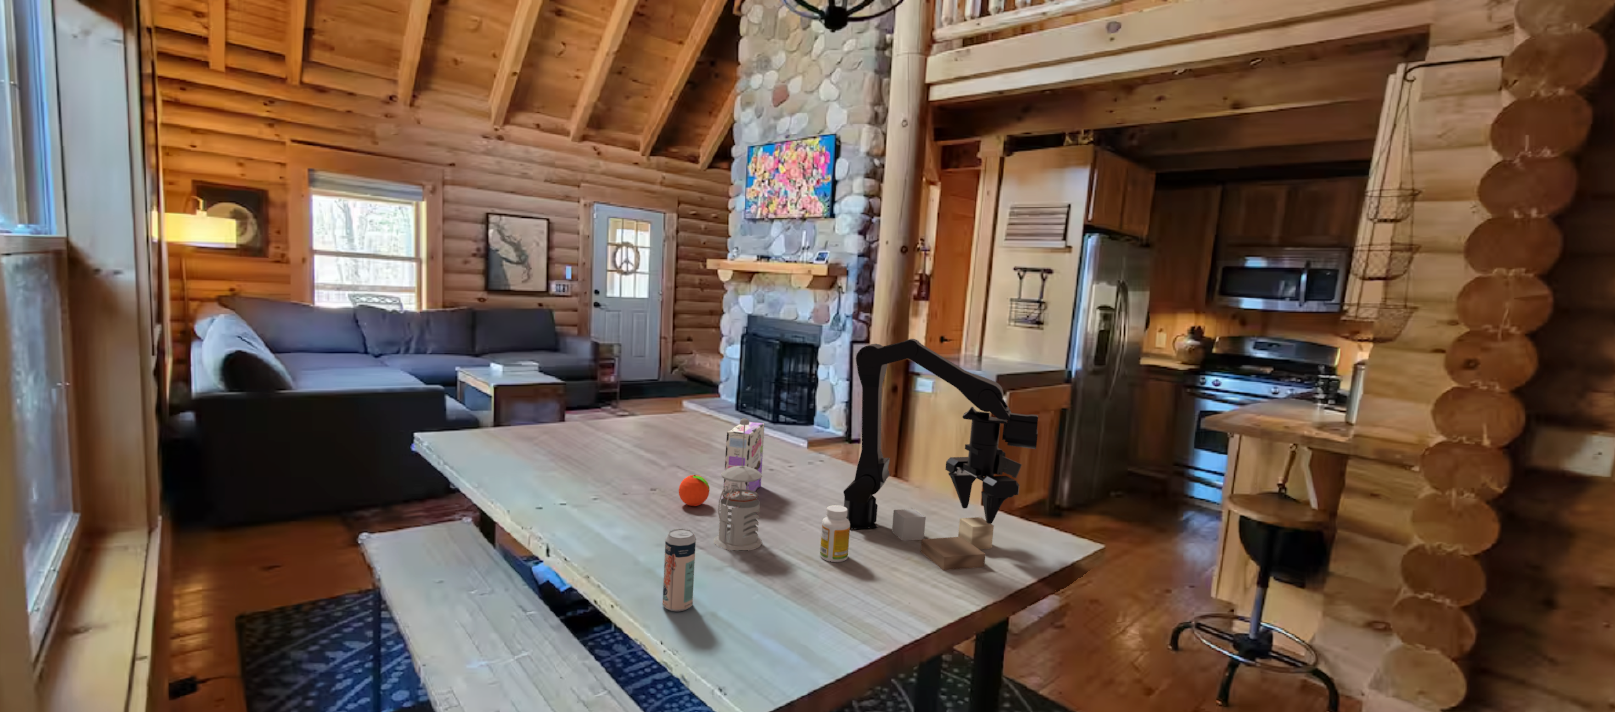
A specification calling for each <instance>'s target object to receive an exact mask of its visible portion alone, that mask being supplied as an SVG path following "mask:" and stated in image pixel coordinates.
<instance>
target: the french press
mask: <svg viewBox="0 0 1615 712" xmlns="http://www.w3.org/2000/svg"><path fill="white" fill-rule="evenodd" d="M749 422H750V420H749V419H748V418H741V419H740V420H739V424H741V425H744V434H743V451H742V466H734V467H730V468H728V469H727V470H725V469H724V470H723V471H722V472H720V476H721V478H722V479H723V480H724V479H725V480H728V481H732V482H741V486H740V489H737V488H736V489H735V487H733V488H732V489H729V490H728V486H725V488H726V487H727V490H726V491H725V492H723V491H724V489H725V488H724V487H723V489H722V491H721V493H720V496H719V499H718V505H717V506H718V507H717V508H718V509H717V512H718V513H717V514H718V519H719V522H718V523H719V524H718V534H717V535H716V537H714V538H713V539H714V543H713V545H715V544H717V545H718V546H719V547H722V548H724V549H723V550H725V549H727V550H726V551H730V550H748V551H753V550H755V549H758V548H760V547H761V546H760V545H761V544H762V545H763V541H762V539H761V537H759V534H758V533H757V532H759V527H758V526H759V524H760V523H759V521H758V520H759V519H760V516H759V514H758V513H760V506H761V503H760V500H759V499H758V498H759V493H757V492H756V491H751V490H747V489H746V490H745V489H741V487H742V482H753V481H757V480H759V479H760V478H761V479H762V477H763V474H761V473H760V472H759V471H757V470H756V469H754V468H751V467H747V466H743V453H744V436H745V425H749ZM723 497H724V498H723ZM729 507H731V508H729ZM729 513H730V514H731V515H730V514H729ZM729 519H730V521H729ZM757 519H758V520H757ZM728 525H729V526H730V527H729V526H728ZM719 547H718V548H719ZM722 548H721V549H722Z"/></svg>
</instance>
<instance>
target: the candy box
mask: <svg viewBox="0 0 1615 712" xmlns="http://www.w3.org/2000/svg"><path fill="white" fill-rule="evenodd" d="M743 434H744V425H741V424H740V423H739V424H737V425H736V426H733V428H731V429H730V430H727V431H726V441H725V442H726V443H725V444H726V445H725V459H724V471H725V470H727V469H728V468H730V467H734V466H742V451H743ZM764 434H765V423H763V422H757V421H756V422H754V421H749V425H745V436H744V453H743V466H747V467H751V468H754V469H756V470H757V471H759V472H760V473H761V474H762V471H763V454H764V440H765V439H764V438H765V437H764V436H765V435H764ZM762 475H763V474H762ZM725 486H728V490H729V489H732V488H733V487H735V489H736V488H737V489H740V486H741V482H732V481H728V480H725V479H724V478H723V489H724V488H725ZM760 487H762V477H761V478H760V479H759V480H757V481H753V482H742V487H741V489H745V490H746V489H747V490H751V491H755V492H756V491H757V490H758V489H760ZM726 490H727V487H726V488H725V489H724V491H723V490H722V491H723V492H725V491H726ZM723 498H724V497H723V496H722V499H723Z"/></svg>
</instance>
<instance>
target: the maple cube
mask: <svg viewBox="0 0 1615 712" xmlns="http://www.w3.org/2000/svg"><path fill="white" fill-rule="evenodd" d="M958 523H959V524H958V534H957V535H958V536H957V537H962V538H963V539H965V540H966V541H968V542H969V543H971V544H972V545H973V546H975V547H976V548H978V549H979V550H988V549H992V548H993V547H992V546H993V539H994V538H993V537H994V528H995V525H994V524H993V523H991V524H988V523H987V522H986V519H984V518H982V517H981V516H978V517H976V516H975V517H961V518H959V522H958Z"/></svg>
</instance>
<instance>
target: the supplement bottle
mask: <svg viewBox="0 0 1615 712" xmlns="http://www.w3.org/2000/svg"><path fill="white" fill-rule="evenodd" d="M847 511H848V510H847V508H846V507H844V505H840V504H839V505H838V504H836V505H835V504H834V505H828V506H827V507H826V516H825V517H823V519H822V521H821V522H822V523H821V531H820V532H821V533H820V534H821V535H820V548H819V549H820V550H819V556H820V557H821V558H822V560H825V561H827V562H830V561H831V562H830V563H841V562H845V561H847V559H848V557H849V546H850V544H849V543H850V532H851V531H850V530H851V529H850V522H849V520H848V519H847V518H846V517H847Z"/></svg>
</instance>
